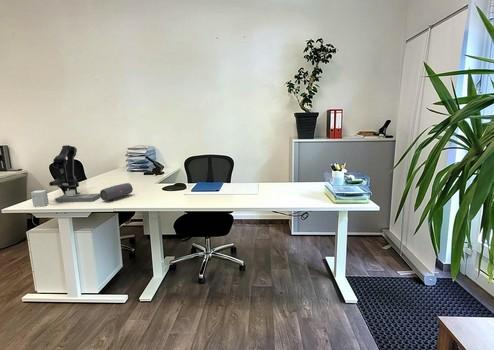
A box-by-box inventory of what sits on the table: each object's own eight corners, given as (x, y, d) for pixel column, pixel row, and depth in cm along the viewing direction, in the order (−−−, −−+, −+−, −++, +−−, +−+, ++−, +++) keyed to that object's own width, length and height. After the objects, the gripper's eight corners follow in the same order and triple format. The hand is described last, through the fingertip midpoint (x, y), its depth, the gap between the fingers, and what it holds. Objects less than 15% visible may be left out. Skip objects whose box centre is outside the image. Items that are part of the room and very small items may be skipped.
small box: (49, 204, 224) (46, 189, 221) (44, 206, 218) (42, 191, 216) (38, 204, 223) (35, 190, 221) (33, 206, 218) (30, 192, 216)
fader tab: (69, 195, 234) (68, 189, 233) (75, 194, 234) (74, 189, 233) (66, 196, 230) (65, 191, 229) (72, 196, 230) (71, 191, 229)
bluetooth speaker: (108, 203, 221) (106, 189, 219) (100, 201, 226) (98, 188, 224) (134, 195, 240) (132, 182, 238) (125, 194, 245) (124, 181, 243)
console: (65, 197, 239) (65, 194, 238) (101, 197, 238) (100, 193, 237) (55, 202, 227) (55, 198, 227) (92, 201, 226) (92, 197, 225)
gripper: (42, 176, 222) (45, 197, 225) (67, 175, 220) (70, 196, 224) (52, 173, 232) (56, 193, 236) (76, 172, 231) (79, 192, 234)
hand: (65, 194), depth 232 cm, fingers closed
